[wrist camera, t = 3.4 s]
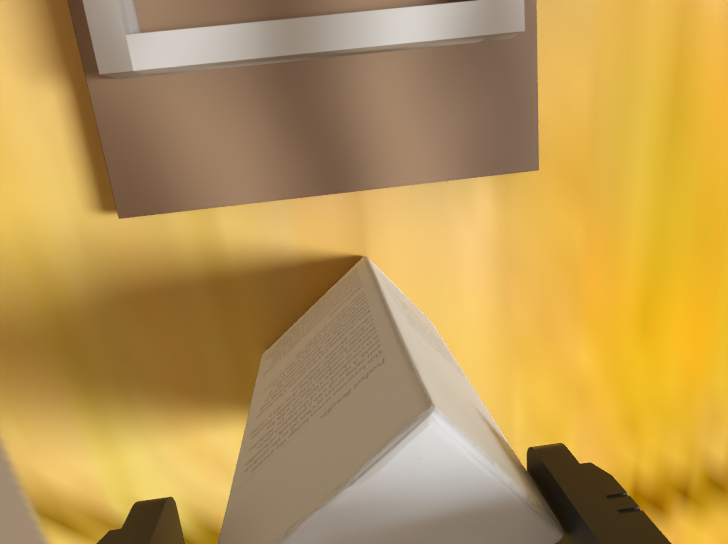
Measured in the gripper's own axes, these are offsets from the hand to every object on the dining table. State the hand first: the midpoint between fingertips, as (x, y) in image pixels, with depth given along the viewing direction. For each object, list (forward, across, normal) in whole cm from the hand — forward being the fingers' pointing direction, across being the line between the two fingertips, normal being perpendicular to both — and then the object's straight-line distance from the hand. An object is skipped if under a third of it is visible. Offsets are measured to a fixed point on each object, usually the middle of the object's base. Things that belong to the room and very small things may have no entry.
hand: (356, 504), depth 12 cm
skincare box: (+10, 0, 0) cm, 10 cm away
